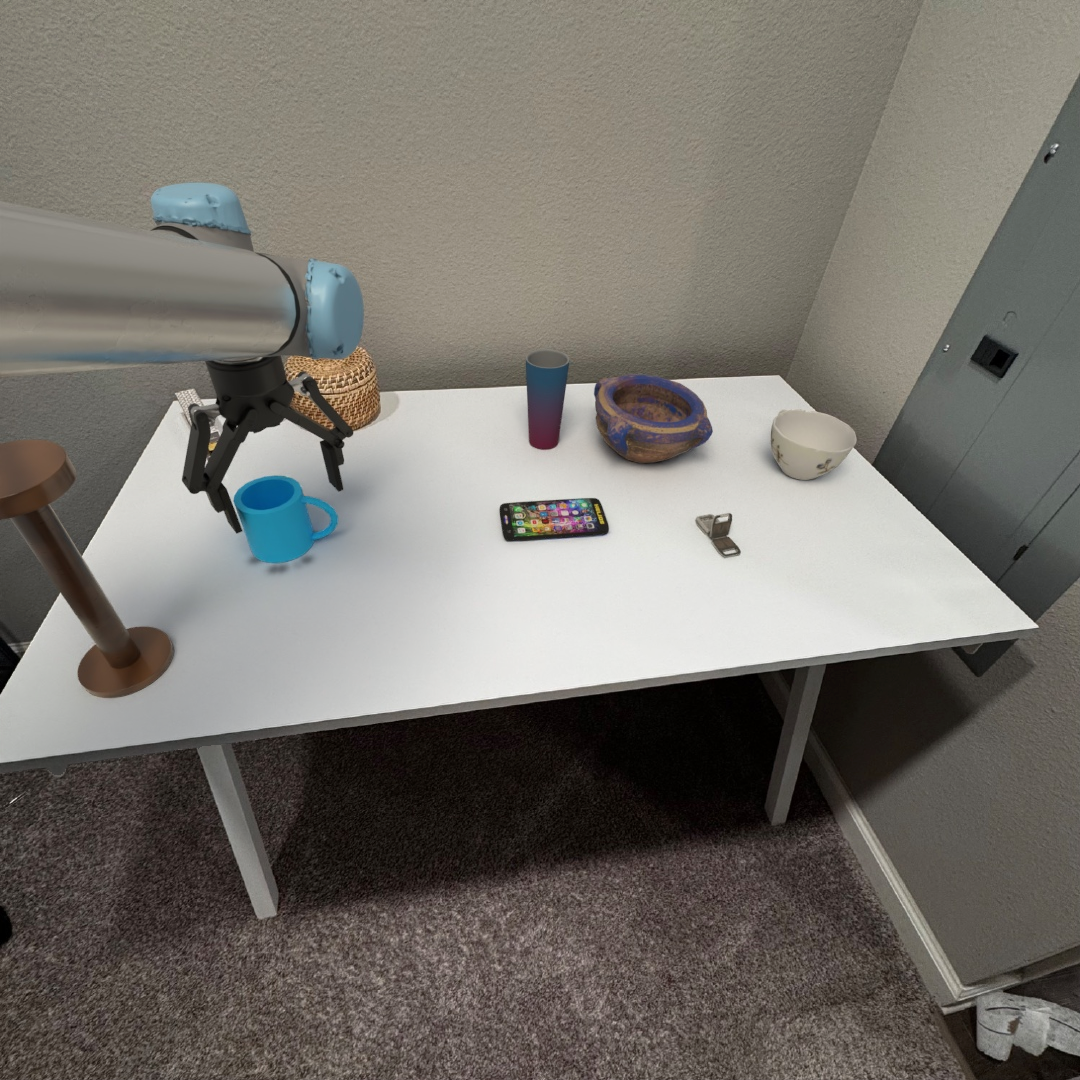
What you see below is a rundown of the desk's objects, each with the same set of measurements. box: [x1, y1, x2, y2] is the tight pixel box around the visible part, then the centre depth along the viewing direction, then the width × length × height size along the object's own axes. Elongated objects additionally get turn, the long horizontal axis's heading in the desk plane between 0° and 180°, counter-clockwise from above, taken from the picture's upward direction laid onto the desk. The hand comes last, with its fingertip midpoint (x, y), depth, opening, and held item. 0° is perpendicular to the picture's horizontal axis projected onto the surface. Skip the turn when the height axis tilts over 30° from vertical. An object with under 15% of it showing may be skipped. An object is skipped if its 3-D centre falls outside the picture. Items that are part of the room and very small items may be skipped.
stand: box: [0, 439, 174, 699], centre depth 60 cm, size 9×9×26 cm
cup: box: [524, 348, 571, 451], centre depth 101 cm, size 7×7×15 cm
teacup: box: [770, 408, 858, 481], centre depth 100 cm, size 15×12×8 cm
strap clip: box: [695, 512, 742, 558], centre depth 87 cm, size 8×3×4 cm, turn 17°
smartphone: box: [499, 497, 610, 542], centre depth 89 cm, size 8×1×15 cm
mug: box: [232, 475, 339, 564], centre depth 82 cm, size 12×8×8 cm
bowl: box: [593, 373, 714, 464], centre depth 102 cm, size 18×18×10 cm
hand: (288, 505), depth 81 cm, fingers open, 13 cm apart
